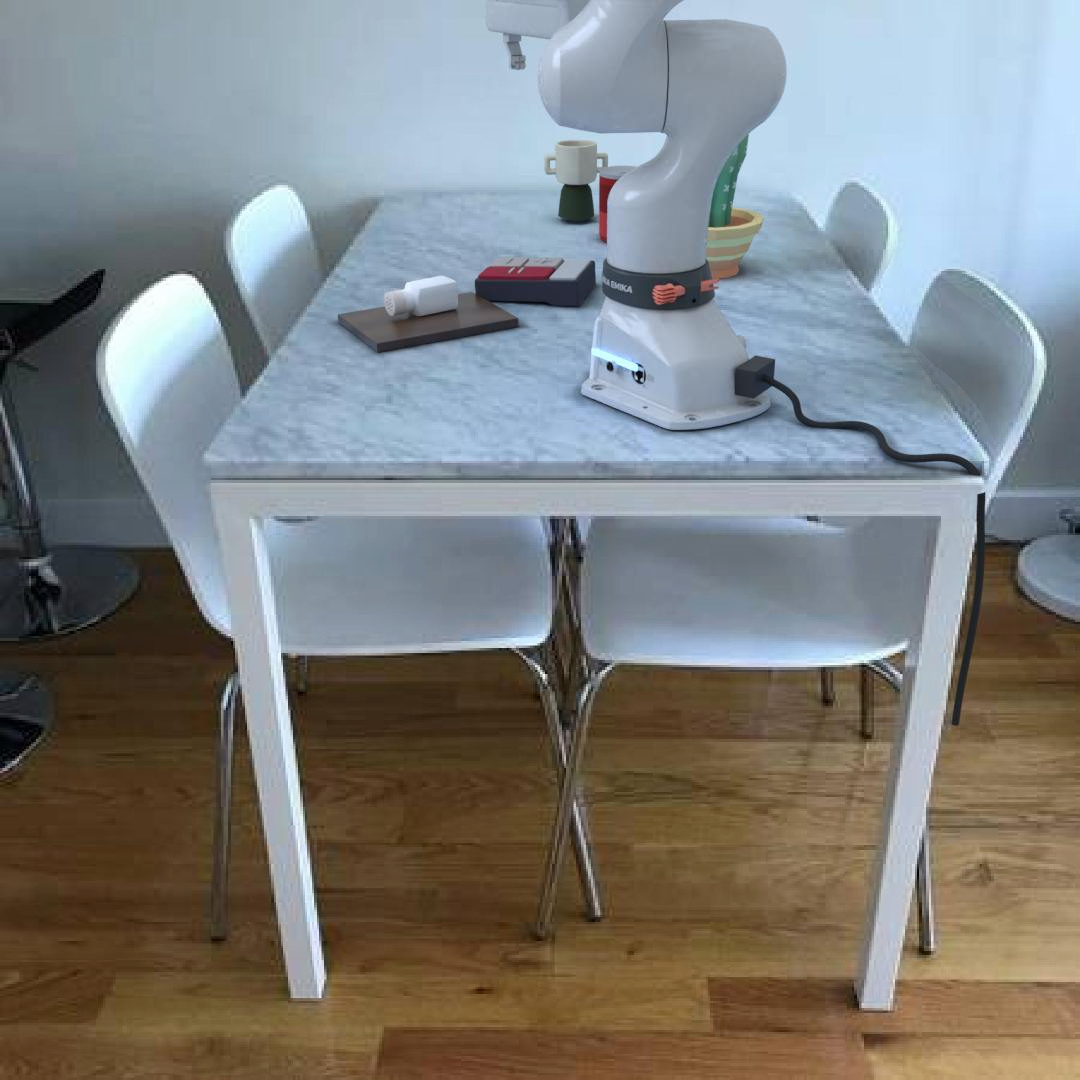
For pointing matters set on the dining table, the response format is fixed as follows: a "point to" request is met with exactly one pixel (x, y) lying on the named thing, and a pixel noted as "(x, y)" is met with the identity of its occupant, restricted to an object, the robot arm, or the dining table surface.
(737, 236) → the potted cactus
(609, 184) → the canned food
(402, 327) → the board
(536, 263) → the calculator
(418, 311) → the pepper shaker
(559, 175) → the trophy
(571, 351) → the dining table surface
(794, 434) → the dining table surface
